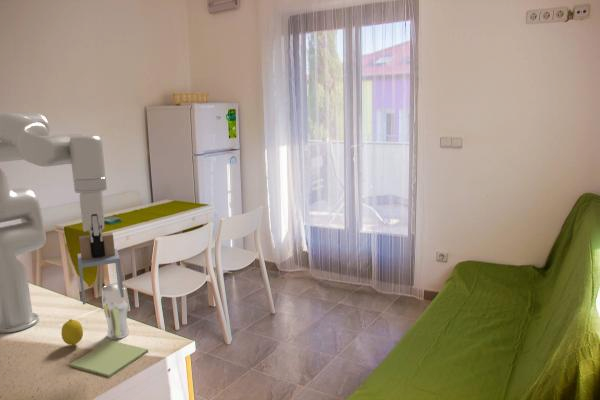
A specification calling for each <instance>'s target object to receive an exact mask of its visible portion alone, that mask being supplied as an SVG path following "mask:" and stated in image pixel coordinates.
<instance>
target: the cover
mask: <svg viewBox="0 0 600 400" xmlns="http://www.w3.org/2000/svg"><path fill="white" fill-rule="evenodd" d="M102 239H103V241H104V249H105V256H103V257H96V258H92V255H91V247H90V242H91V237H90V234H87V235H79V236H78V240H79V249H80V253H77V265H78V273H79V274H78V275H79V284H80V290H81V298H82V299H81V300H82V305H86V296H85V295H86V294H85V293H86V292H85V284H84V278H83V277H84V275H83V269H84V268H89V267H96V266H103V265H109V264H115V269H116V270H115V271H116V280H117V282H116V283H118V288H119V291H120V295H121V298H123V297H124V294H123V284H124V283H123V278H122V277H123V276H122V266H121V264H122V263H121V258H120V255H119V252H118V249H117V248H115V240H114V234H113V231H112V232H104V233H102Z"/></svg>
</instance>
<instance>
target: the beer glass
mask: <svg viewBox="0 0 600 400" xmlns="http://www.w3.org/2000/svg"><path fill="white" fill-rule="evenodd" d="M122 284H123V294H124V297H123V298H121V295H120V291H119V288H118V282H116V283H111V284H107V285H104V286H103V287H102V288H101V302H102V309H103V312H104V315H105V316H104V317H105V319H106V323H107V338H108V339H110V340H120V339H123V338H126V337H127V336H128V335H129V334H130V330H129V326H128V321H127V319H128V308H129V307H128V306H129V305H128V304H129V303H128V302H129V301H128V294H127V293H128V292H127V288H126V287H127V286H126V285H125V284H124V283H122Z"/></svg>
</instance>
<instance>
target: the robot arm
mask: <svg viewBox="0 0 600 400" xmlns="http://www.w3.org/2000/svg"><path fill="white" fill-rule="evenodd" d="M102 142H103V141H102V139H101V137H99V136H98V135H92V134H91V135H90V134H89V135H84V134H77V133H73V134H72V133H71V134H54V135H50V124H49V121H48V120H47V118H46V117H45V116H44V115H43V114H42V113H39V112H33V111H27V112H19V111H18V112H5V113H4V112H3V113H0V163H1V162H2V163H5V162H13V161H22V160H24V161H26V162H27V163H30V164H32V165H35V166H39V167H46V168H47V167H56V166H63V165H71V171H72V180H73V189H74V193H76V194H79V206H80V216H81V224H82V230H83V232H84V233H87V231H89V235H90V237H91V242H90V247H91V255H92V258H96V257H103V256H105V249H104V241H103V239H102V231H103V230H105V209H104V198H103V192H105V191H107V190H108V186H107V178H106V167H105V158H104V149H103V148H104V147H103V143H102ZM42 213H43V212H42V209H41V204H40V201H39V198H38V196H37V195H36V193H35V192H34V191H33V190H32V189H30V188H27V187H19V188H12V189H11V188H10V184H9V180H8V177H7V174H6V173H5V171H4V170H3V169H2V168H0V224H1V223H7V222H11V221H16V220H20V221H21V222H20V223H15V224H8V225H4V226H1V227H0V333H5V334H7V333H14V332H19V331H22V330H23V331H24V330H25V329H29V328H31V327H32V326H34V325H36V324H37V323H39V320H40V317H39V315H38V314H37V313H35V312H33V307H32V300H31V293H30V286H29V279H28V271H27V268H26V266H25V264H24V263H23V262H22V261H21V260H19V259H18V258H17V257H18V256H19V255H23V254H26V253H30V252H34V251H37V250H39V249H41V248H43V247H44V246H45V245H46V241H47V235H46V229H45V224H44V223H45V222H44V219H43V214H42Z"/></svg>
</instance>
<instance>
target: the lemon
mask: <svg viewBox="0 0 600 400" xmlns="http://www.w3.org/2000/svg"><path fill="white" fill-rule="evenodd" d="M83 336H84V330H83V326H82V324H81V322H79V320H76V319H71V318H70V319H68V321H66V322H65V323H64V324H63V325H62V328H61V337H62V340H63V342H64V343H65V344H67V345H70V346H75V345H77V344H78V343H79V342H80V341H82V339H83Z"/></svg>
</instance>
